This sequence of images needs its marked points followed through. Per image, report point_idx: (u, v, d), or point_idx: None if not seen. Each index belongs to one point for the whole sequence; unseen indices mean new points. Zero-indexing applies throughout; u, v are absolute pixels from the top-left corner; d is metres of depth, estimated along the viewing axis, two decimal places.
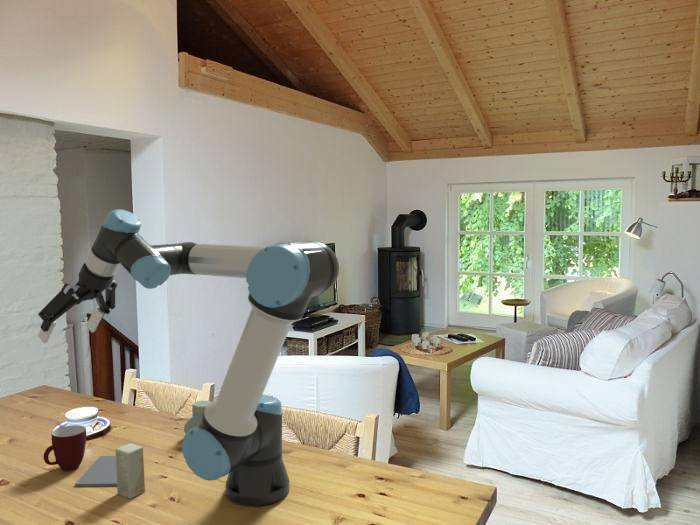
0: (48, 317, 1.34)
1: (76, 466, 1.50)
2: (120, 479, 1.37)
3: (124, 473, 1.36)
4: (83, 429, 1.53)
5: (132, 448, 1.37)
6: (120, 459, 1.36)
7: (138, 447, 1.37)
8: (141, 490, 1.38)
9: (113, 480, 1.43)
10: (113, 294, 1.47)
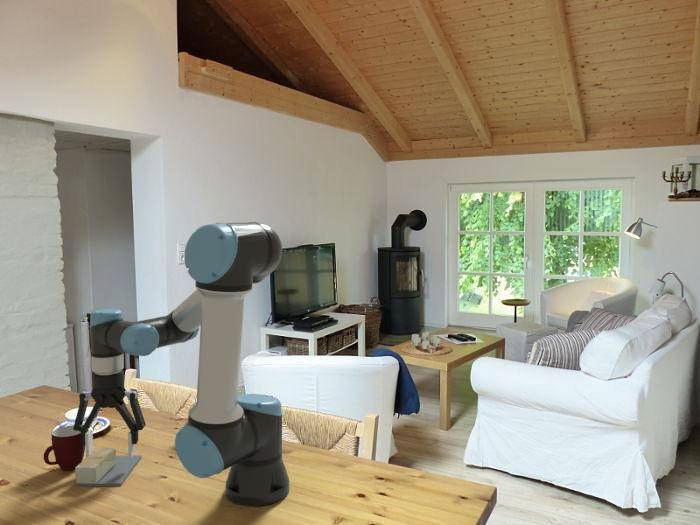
0: (75, 425, 1.46)
1: (76, 466, 1.50)
2: None
3: None
4: None
5: (90, 476, 1.40)
6: None
7: (91, 471, 1.40)
8: (114, 453, 1.50)
9: (113, 480, 1.43)
10: (134, 407, 1.46)
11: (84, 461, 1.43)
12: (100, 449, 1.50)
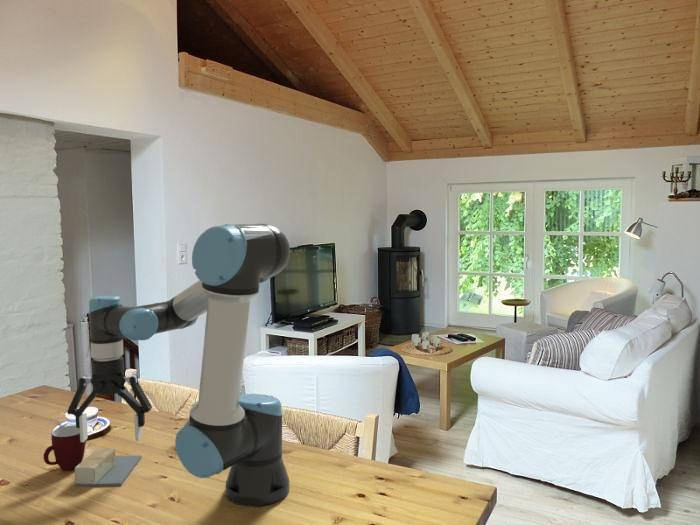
0: (70, 408, 1.45)
1: None
2: None
3: None
4: None
5: (89, 476, 1.40)
6: None
7: (91, 471, 1.40)
8: (114, 454, 1.50)
9: (113, 480, 1.43)
10: (136, 391, 1.46)
11: (84, 461, 1.44)
12: (100, 450, 1.50)
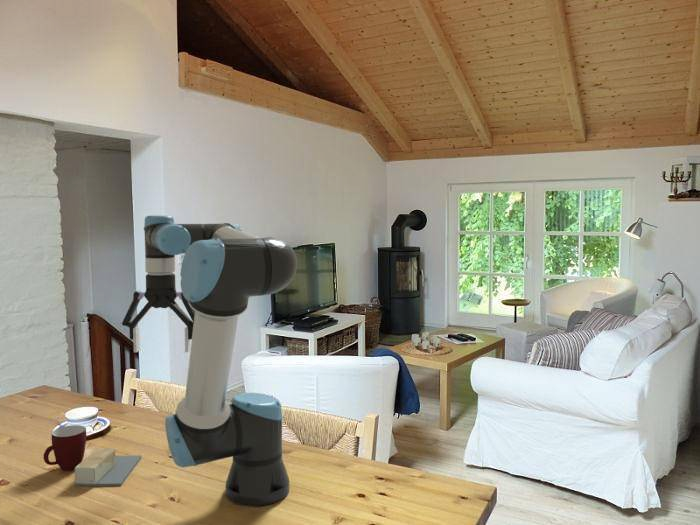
0: (124, 320, 1.55)
1: None
2: None
3: None
4: (83, 429, 1.53)
5: (89, 476, 1.40)
6: None
7: (91, 471, 1.40)
8: (114, 454, 1.50)
9: (113, 480, 1.43)
10: (187, 305, 1.55)
11: (84, 461, 1.44)
12: (100, 450, 1.50)
